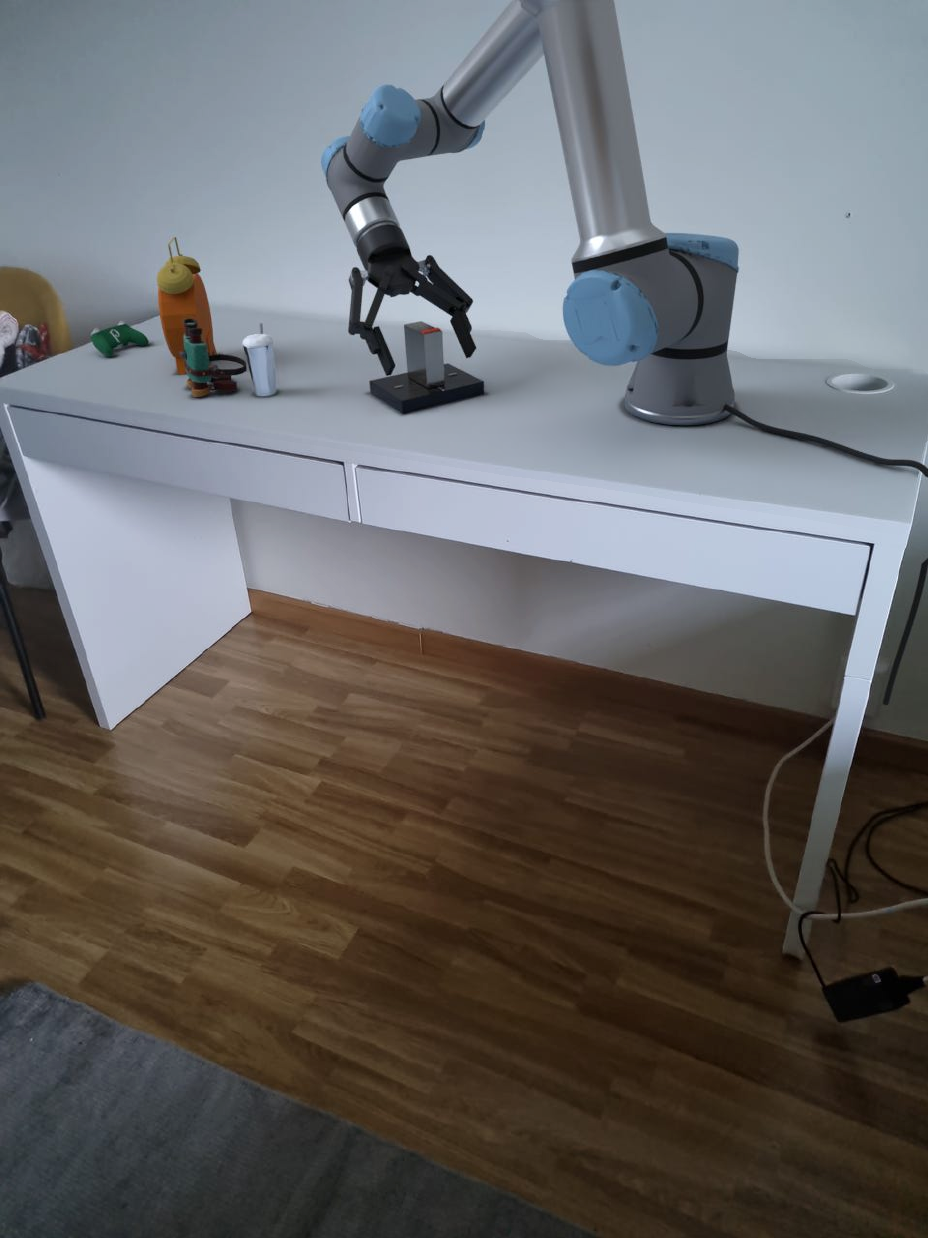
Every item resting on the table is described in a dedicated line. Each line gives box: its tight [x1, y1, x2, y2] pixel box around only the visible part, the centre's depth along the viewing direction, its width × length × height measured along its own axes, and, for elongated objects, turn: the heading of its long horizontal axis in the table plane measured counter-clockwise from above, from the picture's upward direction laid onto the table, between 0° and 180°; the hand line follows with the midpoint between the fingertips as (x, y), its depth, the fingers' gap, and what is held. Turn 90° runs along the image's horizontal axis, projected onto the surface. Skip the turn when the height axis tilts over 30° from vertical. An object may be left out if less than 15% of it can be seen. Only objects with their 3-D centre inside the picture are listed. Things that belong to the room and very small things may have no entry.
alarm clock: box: [156, 236, 218, 375], centre depth 148 cm, size 13×6×20 cm, turn 6°
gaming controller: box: [90, 319, 150, 358], centre depth 162 cm, size 9×4×6 cm
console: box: [369, 363, 485, 415], centre depth 136 cm, size 14×11×2 cm
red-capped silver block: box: [403, 321, 445, 388], centre depth 133 cm, size 6×3×8 cm, turn 30°
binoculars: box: [179, 318, 248, 398], centre depth 140 cm, size 9×11×10 cm
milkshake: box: [241, 322, 277, 398], centre depth 137 cm, size 4×5×10 cm
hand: (432, 361), depth 132 cm, fingers open, 13 cm apart
